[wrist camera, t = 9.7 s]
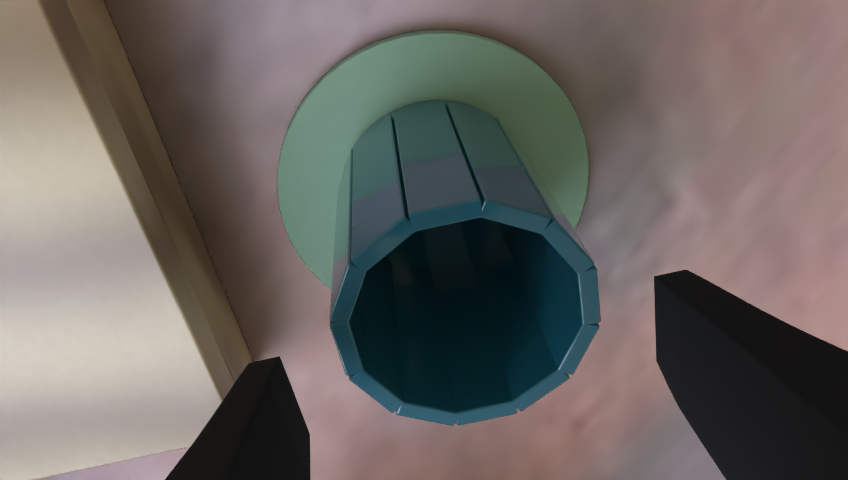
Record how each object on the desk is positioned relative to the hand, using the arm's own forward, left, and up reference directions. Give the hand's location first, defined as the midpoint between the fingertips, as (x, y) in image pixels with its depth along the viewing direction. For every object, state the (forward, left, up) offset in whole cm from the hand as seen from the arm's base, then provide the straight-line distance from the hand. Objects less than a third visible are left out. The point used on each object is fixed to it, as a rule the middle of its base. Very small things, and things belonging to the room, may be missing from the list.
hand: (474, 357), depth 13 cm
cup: (0, 0, -7) cm, 7 cm away
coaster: (0, 0, -8) cm, 8 cm away
